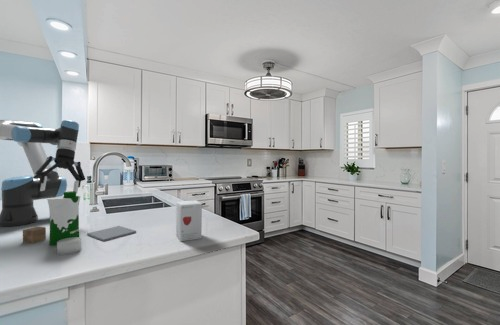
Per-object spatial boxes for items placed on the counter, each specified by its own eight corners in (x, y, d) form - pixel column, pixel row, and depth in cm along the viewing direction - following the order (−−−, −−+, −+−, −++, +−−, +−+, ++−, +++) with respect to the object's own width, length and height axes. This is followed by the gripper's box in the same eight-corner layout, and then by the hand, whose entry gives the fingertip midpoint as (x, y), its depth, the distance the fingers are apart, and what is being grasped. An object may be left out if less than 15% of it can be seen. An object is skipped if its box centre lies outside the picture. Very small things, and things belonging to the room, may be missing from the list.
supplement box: (180, 242, 99) (180, 205, 99) (175, 235, 107) (175, 201, 107) (202, 238, 104) (202, 203, 103) (196, 232, 112) (196, 199, 111)
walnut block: (22, 242, 98) (22, 229, 98) (36, 238, 103) (36, 226, 103) (32, 243, 97) (32, 230, 97) (45, 239, 102) (45, 227, 102)
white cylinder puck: (53, 252, 88) (53, 241, 88) (75, 246, 94) (75, 236, 94) (62, 256, 84) (61, 245, 84) (84, 250, 90) (84, 239, 90)
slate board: (87, 235, 107) (87, 233, 107) (119, 227, 119) (119, 225, 119) (103, 241, 99) (103, 239, 99) (136, 232, 111) (136, 230, 111)
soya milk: (69, 245, 94) (69, 193, 94) (44, 246, 94) (43, 193, 93) (83, 238, 103) (82, 190, 103) (60, 238, 102) (59, 190, 102)
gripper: (39, 141, 112) (30, 188, 106) (95, 154, 133) (90, 194, 127) (32, 145, 115) (22, 190, 109) (88, 157, 136) (82, 195, 130)
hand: (59, 192), depth 118 cm, fingers open, 13 cm apart
